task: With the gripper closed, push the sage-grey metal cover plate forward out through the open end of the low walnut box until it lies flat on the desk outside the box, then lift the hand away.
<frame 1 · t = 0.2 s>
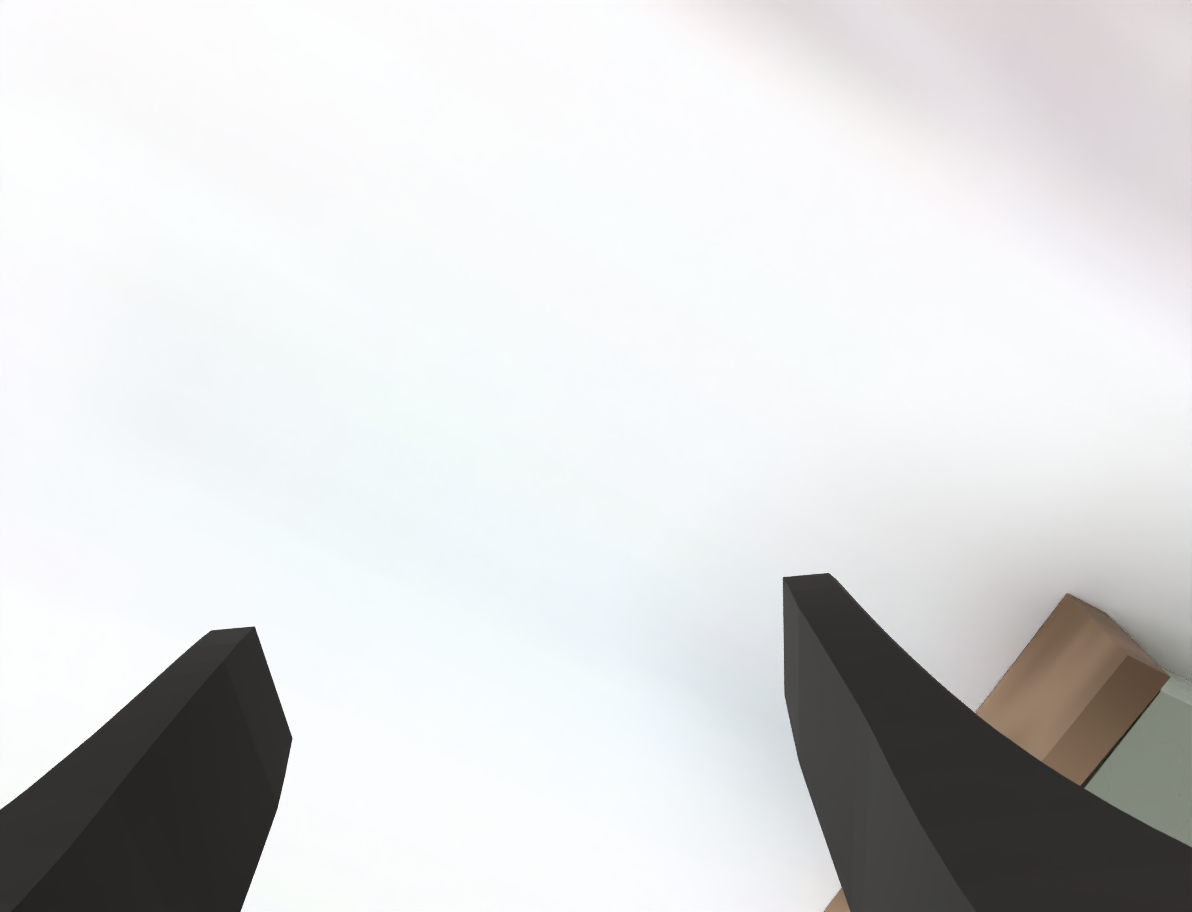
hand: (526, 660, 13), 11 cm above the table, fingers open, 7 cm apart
walnut box: (1149, 889, 27), on the table
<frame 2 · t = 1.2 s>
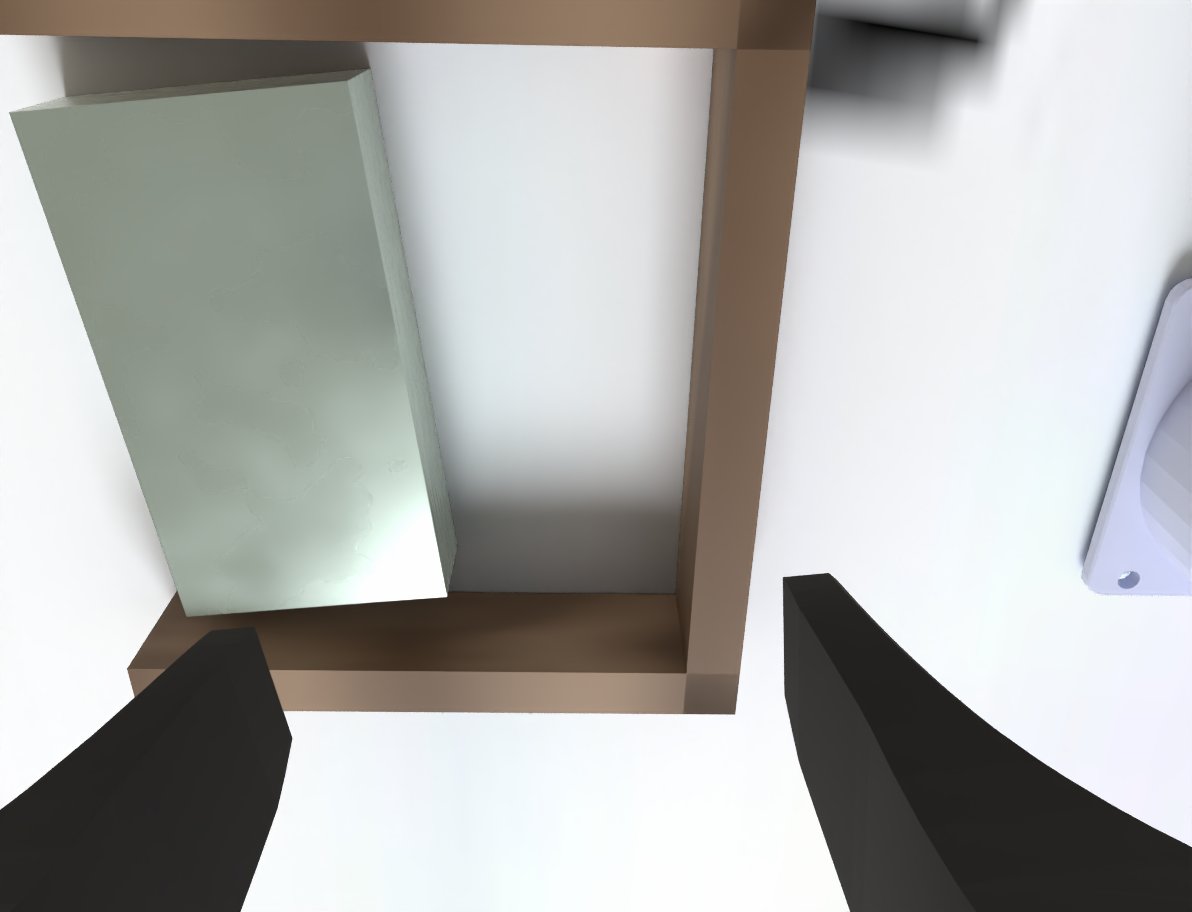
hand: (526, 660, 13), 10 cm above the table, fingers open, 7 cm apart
walnut box: (420, 350, 21), on the table
cover plate: (289, 340, 21), on the table
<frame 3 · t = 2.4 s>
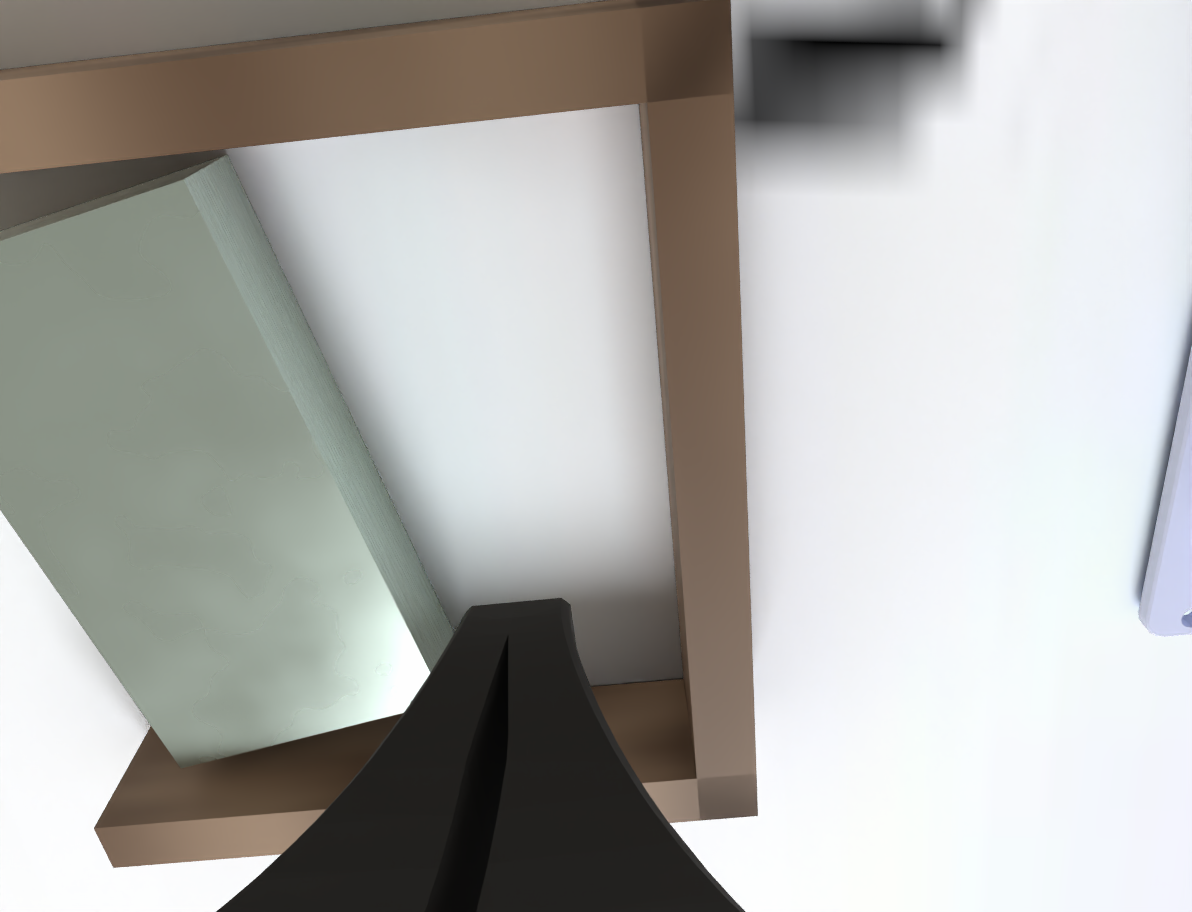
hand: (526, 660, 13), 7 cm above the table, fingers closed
walnut box: (365, 454, 19), on the table
cover plate: (226, 457, 20), on the table
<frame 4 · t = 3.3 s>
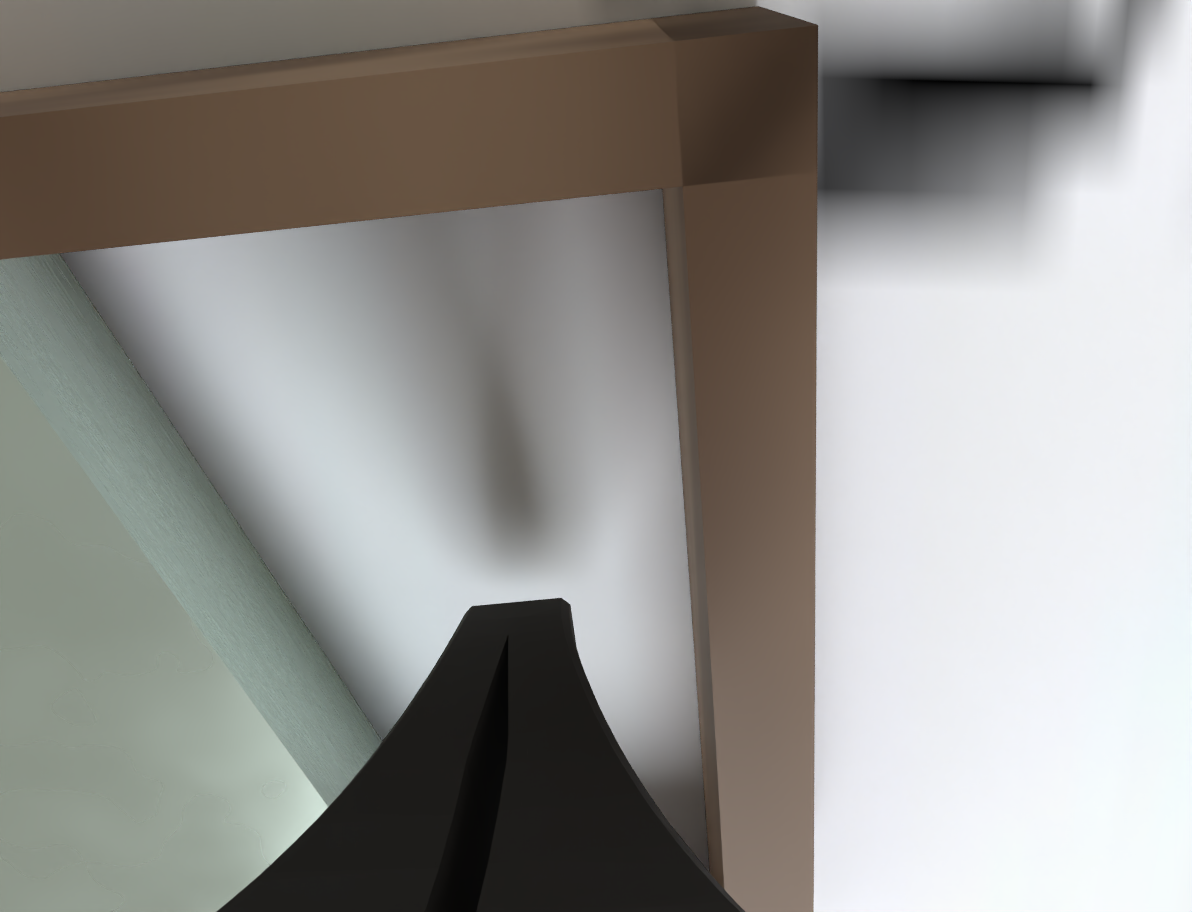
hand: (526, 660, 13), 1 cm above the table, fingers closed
walnut box: (292, 621, 14), on the table
cover plate: (111, 619, 15), on the table
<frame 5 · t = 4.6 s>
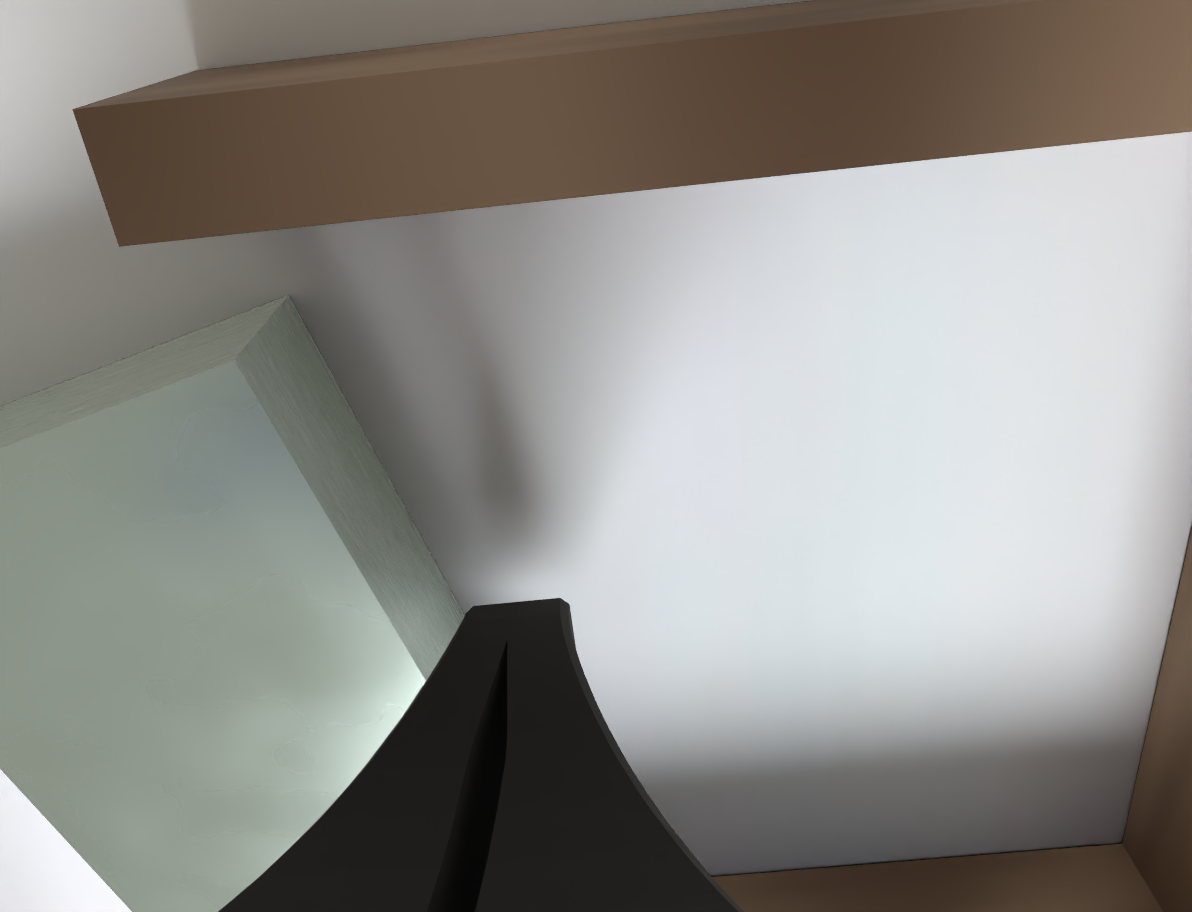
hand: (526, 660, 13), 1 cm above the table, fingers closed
walnut box: (779, 574, 14), on the table
cover plate: (297, 661, 15), on the table
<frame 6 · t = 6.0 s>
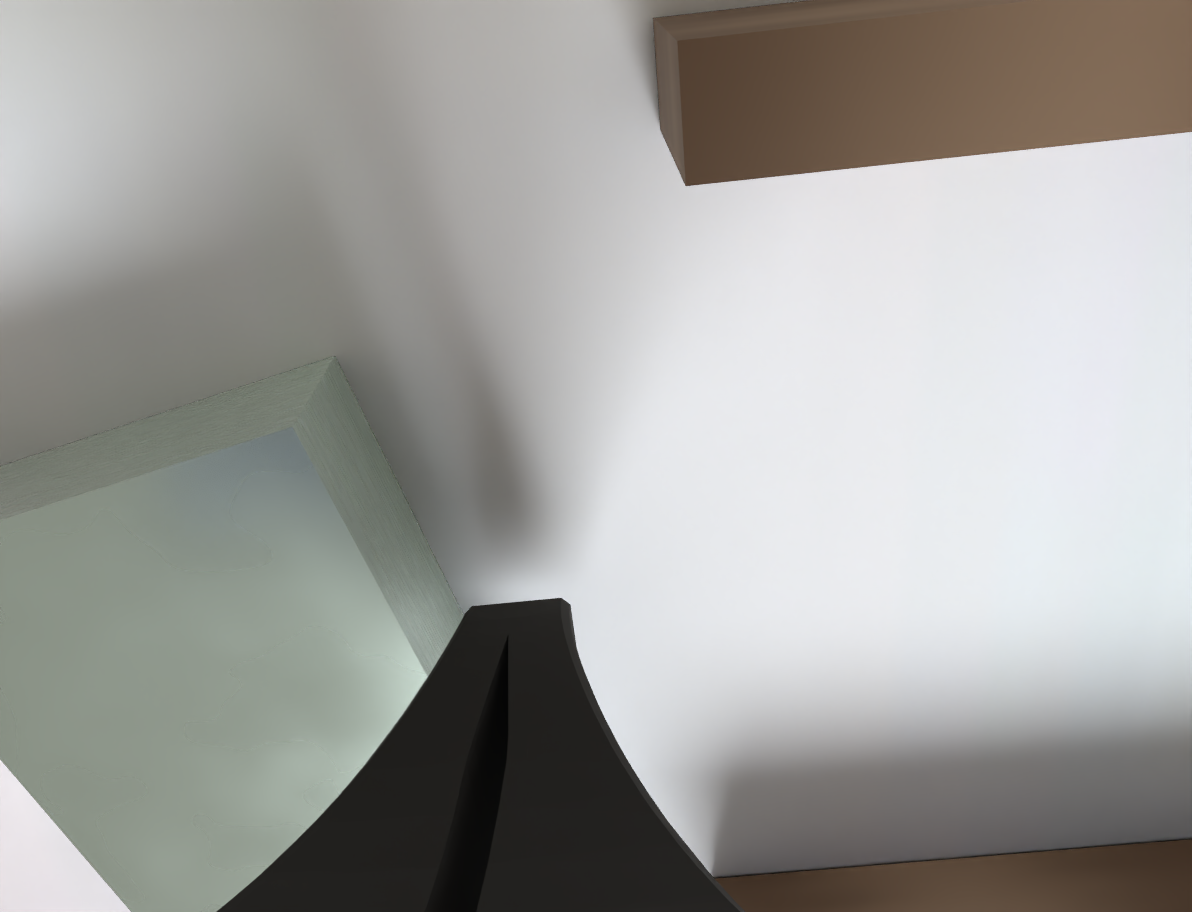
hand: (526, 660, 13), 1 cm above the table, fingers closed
walnut box: (1135, 542, 14), on the table
cover plate: (321, 696, 16), on the table
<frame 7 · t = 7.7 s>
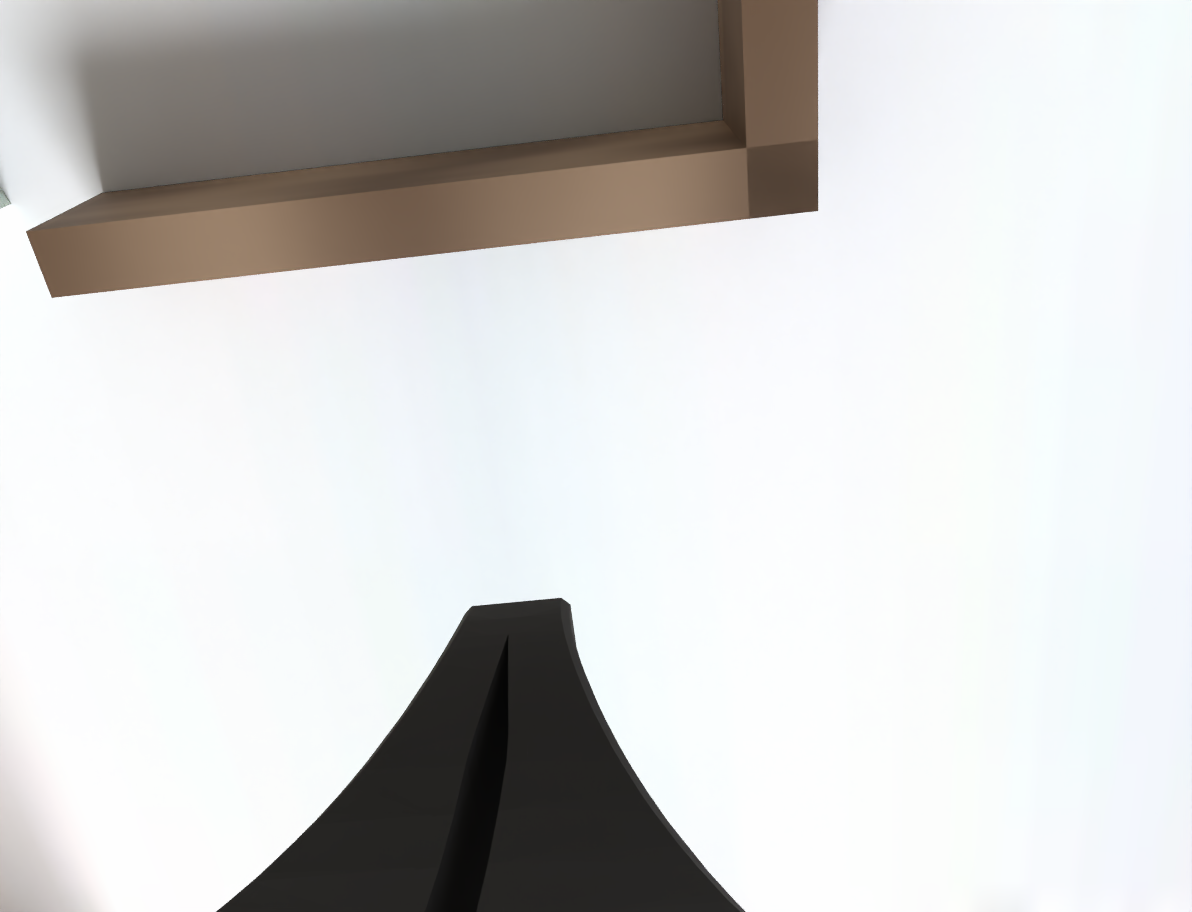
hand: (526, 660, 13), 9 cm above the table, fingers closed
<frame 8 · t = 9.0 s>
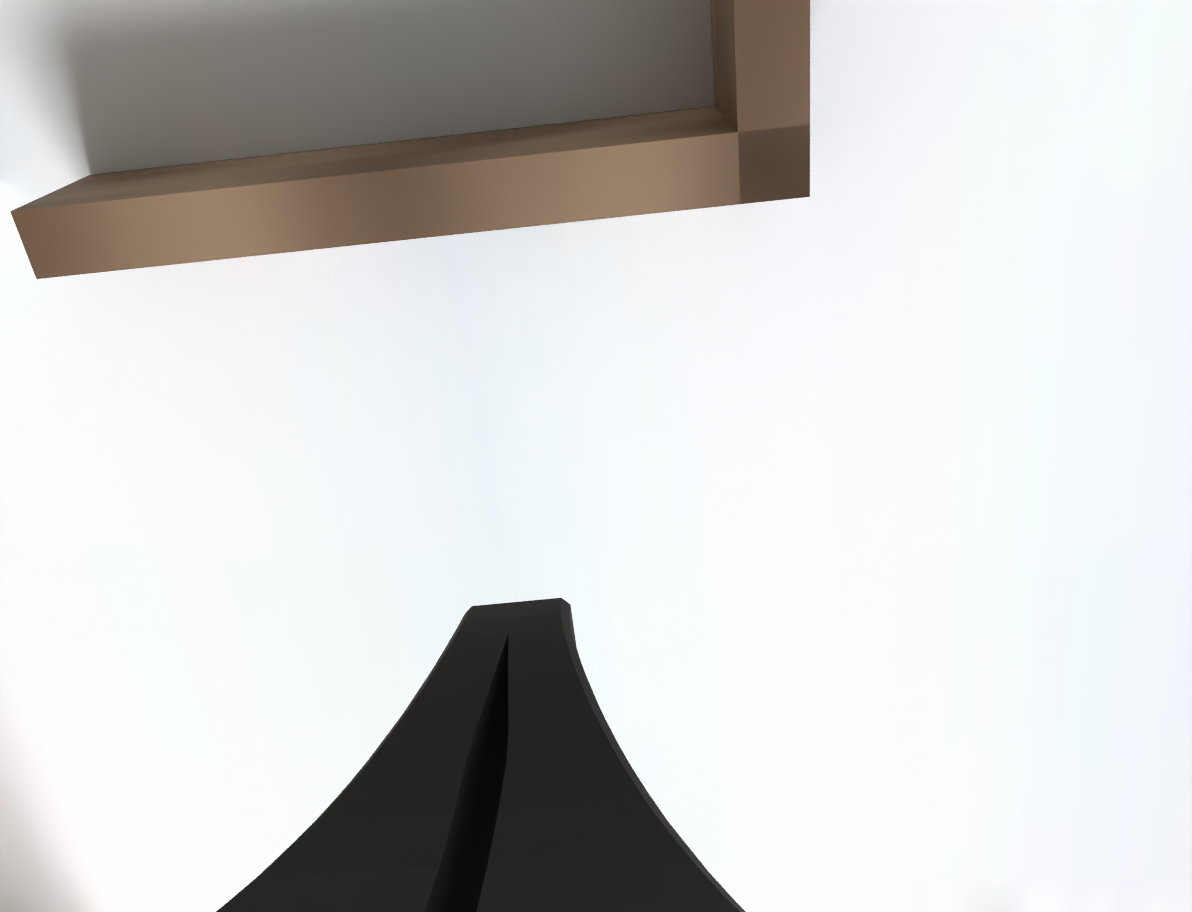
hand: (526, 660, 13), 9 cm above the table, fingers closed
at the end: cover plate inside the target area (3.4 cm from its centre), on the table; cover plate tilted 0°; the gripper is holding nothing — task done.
